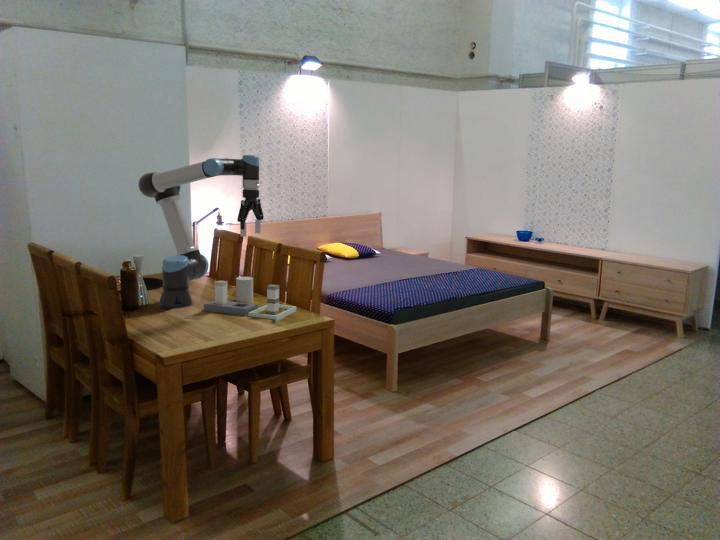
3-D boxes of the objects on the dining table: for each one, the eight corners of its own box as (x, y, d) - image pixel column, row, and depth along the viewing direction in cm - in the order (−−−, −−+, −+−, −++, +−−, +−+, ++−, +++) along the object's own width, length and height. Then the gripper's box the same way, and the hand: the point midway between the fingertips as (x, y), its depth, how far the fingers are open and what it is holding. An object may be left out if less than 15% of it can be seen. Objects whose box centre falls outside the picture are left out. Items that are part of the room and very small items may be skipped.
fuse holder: (204, 312, 277) (203, 303, 276) (216, 307, 286) (216, 299, 286) (246, 317, 270) (246, 309, 269) (257, 312, 279) (257, 304, 279)
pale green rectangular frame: (248, 318, 270) (248, 312, 269) (269, 308, 288) (269, 303, 288) (276, 321, 265) (276, 316, 265) (296, 311, 284) (296, 306, 283)
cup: (241, 304, 294) (241, 280, 292) (233, 301, 300) (233, 277, 298) (256, 302, 299) (256, 278, 297) (247, 299, 305) (247, 276, 303)
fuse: (214, 309, 278) (214, 282, 276) (219, 307, 282) (219, 280, 280) (222, 310, 277) (222, 282, 275) (227, 308, 281) (227, 281, 279)
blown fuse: (266, 314, 275) (266, 286, 273) (271, 312, 279) (271, 284, 277) (275, 315, 274) (275, 286, 272) (279, 313, 278) (279, 285, 276)
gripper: (244, 190, 267) (244, 238, 270) (270, 188, 290) (270, 232, 294) (229, 189, 269) (229, 237, 273) (257, 187, 292) (256, 231, 296)
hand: (250, 235), depth 283 cm, fingers open, 13 cm apart
